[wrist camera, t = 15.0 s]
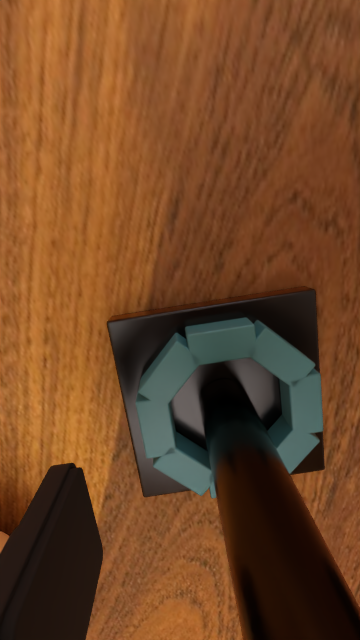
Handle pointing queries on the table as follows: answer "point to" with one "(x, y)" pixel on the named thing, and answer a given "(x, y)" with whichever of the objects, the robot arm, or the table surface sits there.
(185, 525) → the table surface
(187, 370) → the ring
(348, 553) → the table surface
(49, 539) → the robot arm
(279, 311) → the black peg stand
